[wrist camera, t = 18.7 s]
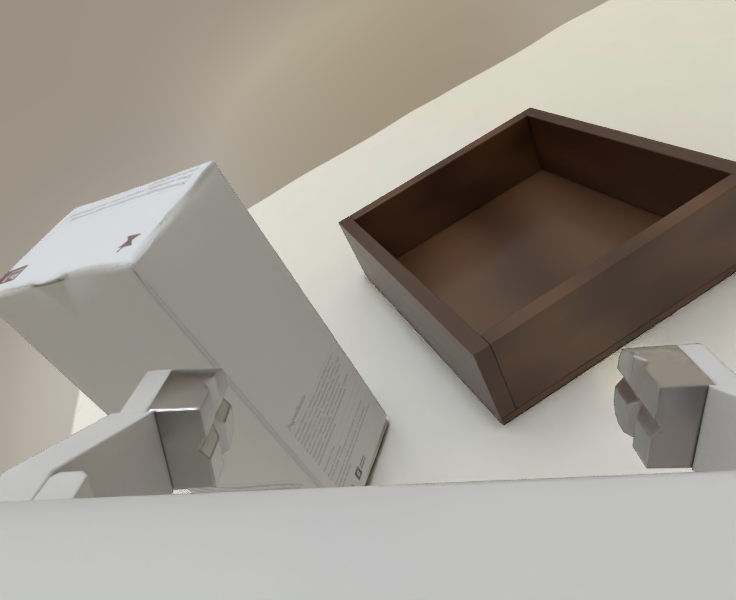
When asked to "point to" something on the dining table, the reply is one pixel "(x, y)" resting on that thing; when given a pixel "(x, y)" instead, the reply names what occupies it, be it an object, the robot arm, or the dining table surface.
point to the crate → (547, 249)
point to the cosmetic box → (198, 327)
